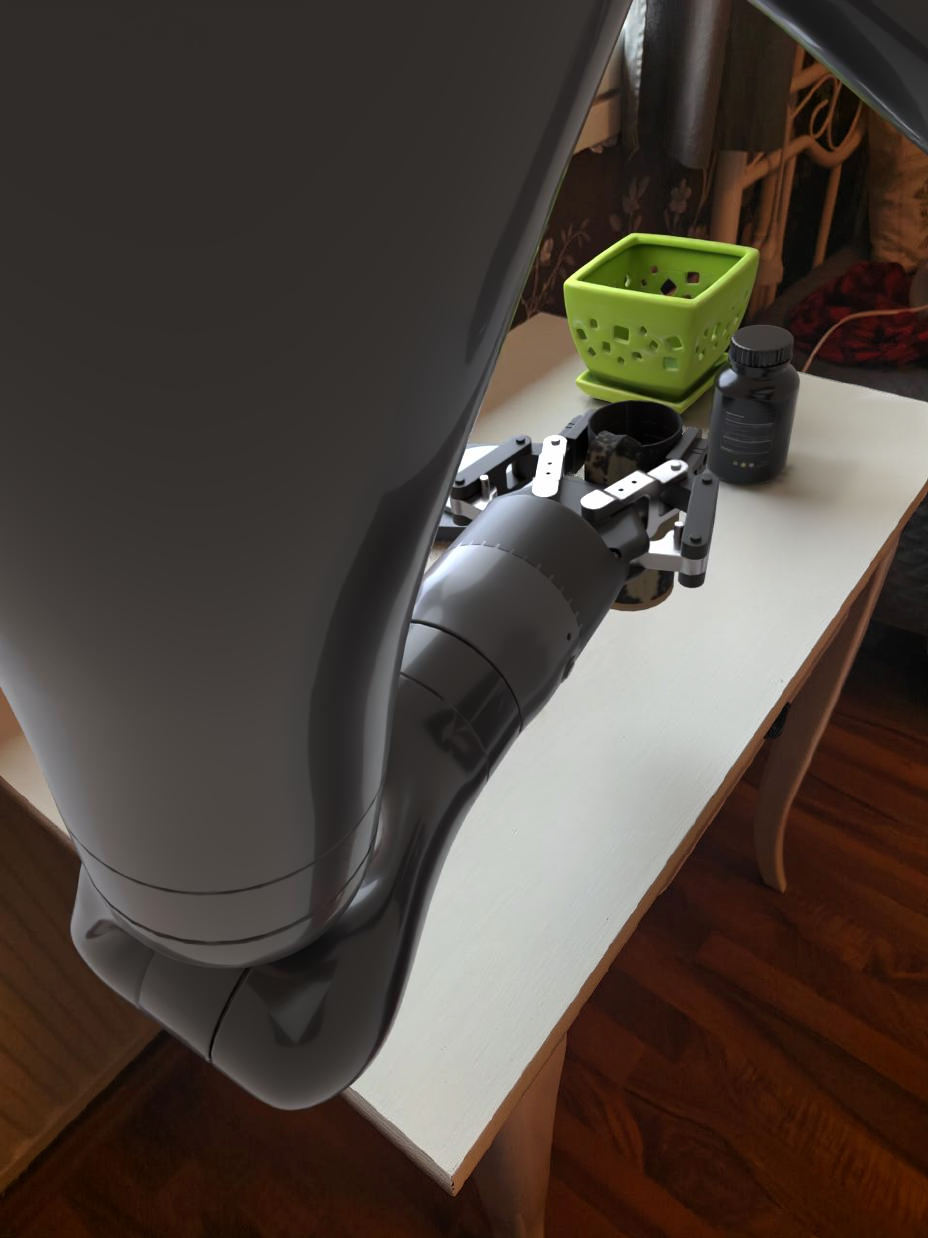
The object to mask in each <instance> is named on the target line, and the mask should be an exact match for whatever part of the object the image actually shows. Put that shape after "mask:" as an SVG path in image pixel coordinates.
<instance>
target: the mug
mask: <svg viewBox="0 0 928 1238" xmlns="http://www.w3.org/2000/svg"><path fill="white" fill-rule="evenodd" d="M596 409H597V410H596V411H595V412H594V413H593V414H592V415H591V416H590V418H589V420H588V452H587V454H586V460H585V464H584V465H583V480H585V481H587V482H590V483H593V484H606V485H613V484H615V483H616V482H618V481H620V480H622V479H623V478H625V477H627V476H629V475H630V474H632V473H634V472H635V471H638V470H640V471H642V472H644V473H648V472H650V471H652V470H653V469H655V468H657V467H658V466H660V465H662V464H664V463H665V461H666V457H667V455H668V454H669V453H670V451H671V450H672V448H673V447H674V446H675V444H676V443H677V442H678V440H679V439H680V437H681V436H682V435H683V433H684V432H683V430H684V429H683V426H684V425H683V418H682V416H681V414H680V415H679V413H678V412H677V411H675V410H674V409H673V408H671V407H669V406H667V405H664V404H662V403H658V402H654V401H647V400H625V401H618V402H614V403H612V402H610V403H608V404H605V405H603V406H601V407H599V408H596ZM661 495H662V493H661ZM661 495H660V496H661ZM680 512H681V511H680ZM680 512H679V513H677V514H675V515H674V516H672V517H671V518H669V519H668V520H666V521H664V522H663V523H661V524H660V525H659V527H658V529H657V532H656V533H655V534H654V536H652V537H651V538H650V541H658V540H661V539H663V538H664V537H665V536H666V534H667V533H668V532H669V531H671V530H674V524H675V522H677V521H680V514H681V513H680ZM674 586H675V571H666V570H657V569H649V568H647V569H646V570H645V572H644V573H643V574H642V575H640V576H639V577H637V578H635V579H633V580H631V581H629V582H627V583H626V584H625V585H624V586H623V587H622V588H621V590H620V592H619V594H618V596H617V598H616V600H615V602H614V603H613V605H612V607H611V608H610V610H614V611H620V612H639V611H646V610H649V609H652V608H656V607H657V606H659V605H660V604H662V603H664V602H665V601H666V600H668V598H669V597H670V596H671V595H672V592H673V590H674Z"/></svg>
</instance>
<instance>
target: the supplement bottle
mask: <svg viewBox="0 0 928 1238" xmlns="http://www.w3.org/2000/svg"><path fill="white" fill-rule="evenodd" d="M794 341H795V339H794V336H793V334H792V333H791V332H790V331H789V330H787V329H785V328H782V327H779V326H776V325H771V324H755V325H749V326H743V327H741V328H738V329H737V331H736V332H734V334H732V336H731V340H730V344H729V349H728V351H727V353H728V361H727V362H726V363H724V364H723V365H722V366H721V367H720V368H719V369H718V371H717V372H716V374H715V376H714V381H713V385H712V389H711V399H710V400H711V401H710V409H709V410H710V411H709V421H708V431H707V439H708V454H707V464H706V467H707V468H708V470H709V471H710V473H711V474H713V475H715V476H717V477H718V478H719V480H722V481H723V482H727V483H729V484H734V485H741V486H755V485H756V486H757V485H761V484H765V483H768V482H770V481H772V480H774V479H776V478H777V477H778V476H780V475H781V474H782V473H783V472H784V469H785V468H786V465H787V460H788V455H789V450H790V444H791V438H792V433H793V426H794V421H795V414H796V409H797V403H798V397H799V391H800V384H801V378H800V375H799V373H798V371H797V368H795V367H794V366H793V364H792V361H793V357H794V356H793V355H794V353H793V349H794Z"/></svg>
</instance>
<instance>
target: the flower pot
mask: <svg viewBox="0 0 928 1238" xmlns="http://www.w3.org/2000/svg"><path fill="white" fill-rule="evenodd" d="M760 257H761V256H760V251H759V249H757V248H753V247H750V246H744V245H738V244H733V243H727V242H720V241H713V240H712V241H711V240H705V239H697V238H689V237H683V236H682V237H681V236H673V235H664V234H654V233H653V234H652V233H639V232H633V233H630V234H628V235H627V236H625V237H623V238H622V239H620V240H619V241H617V242H615V243H614V244H612V245H611V246H610V247H609V248H607V249H605V250H604V251H603V252H600V254H598V255H597V256H595V257H594V258H593V259H592V260H590V261H589V262H587V263H586V264H585V265H584V266H581V268H579V269H578V270H577V271H575V273H573V274H571V275H570V277H568V278H567V279H566V280H565V281H564V283H563V297H564V305H565V311H566V318H567V322H568V326H569V330H570V334H571V337H572V340H573V343H574V345H575V347H576V350H577V352H578V354H579V357H580V358H581V360H582V362H583V363H584V365H585V367H586V368H587V369H586V370H585V371H583V372H582V373H581V374H580V375H578V376H577V378H576V379H575V385H576V386H577V387H578V389H580V390H581V391H582V392H583V393H585V394H586V395H588V396H590V397H591V398H594V399H596V400H602V401H605V402H608V403H614V402H618V401H625V400H647V401H654V402H658V403H662V404H664V405H667V406H669V407H671V408H673V409H674V410H675V411H677V412H678V413H679V415H680V416H681V415H682V414H683V413H684V412H686V410H688V408H690V407H691V406H692V405H693V404H694V403H695V402H696V401H697V400H698V399H699V398H700V397H701V396H702V395H703V394H705V392H707V390H709V389H710V388H711V387H713V381H714V376H715V374H716V372H717V371H718V369H719V368H720V367H721V366H722V365H723V364H724V363H726V362H727V361H728V352H726V350H727V349H728V347H730V340H731V336H732V334H734V332H736V331H737V330H739V327H740V325H741V323H742V320H743V318H744V315H745V314H746V311H747V308H748V305H749V302H750V299H751V295H752V292H753V289H754V285H755V282H756V277H757V272H758V268H759V263H760ZM653 267H656V268H657V272H653ZM689 273H697V274H698V275H699V280H698V282H697V283H696V282H695V283H694V282H691V283H689V282H688V274H689ZM625 280H626V282H625ZM643 280H645V285H643V282H642V281H643ZM668 280H669V281H671V282H672V283H673V284H674V285H675V288H676V289H675V291H674V292H673V294H672V295H670V296H669V295H665V294H664V293H663V292H662V290H661V289H662V286H663V285H664V284H665V282H667V281H668ZM687 296H689V297H690V298H685V297H687Z"/></svg>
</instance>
